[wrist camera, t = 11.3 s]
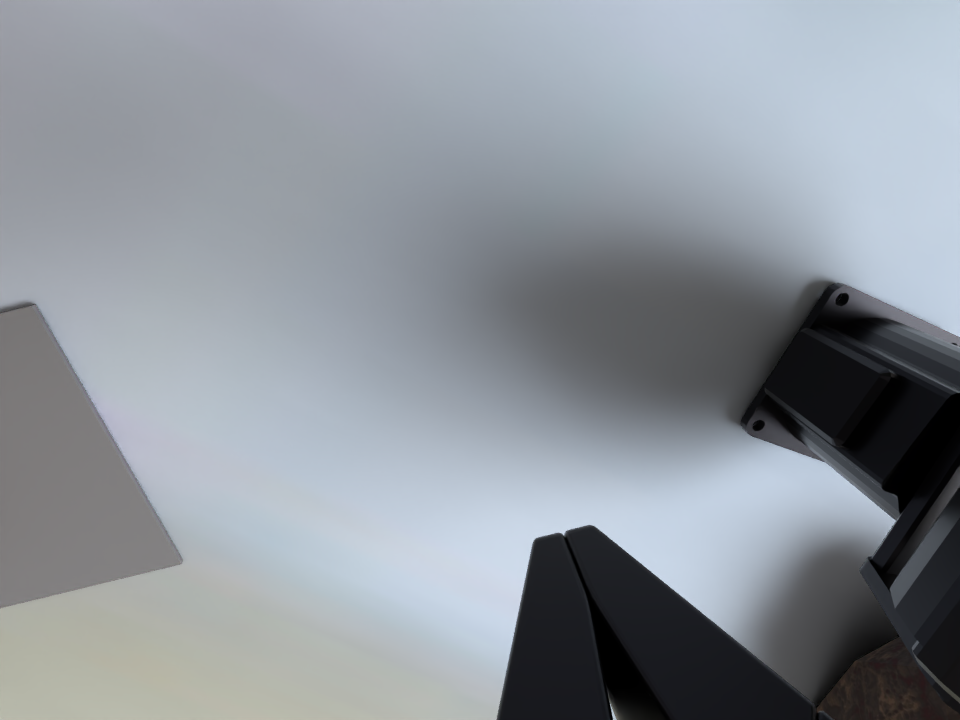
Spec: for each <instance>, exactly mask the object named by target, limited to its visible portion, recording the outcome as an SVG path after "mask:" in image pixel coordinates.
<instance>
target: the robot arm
mask: <svg viewBox="0 0 960 720" xmlns="http://www.w3.org/2000/svg"><path fill="white" fill-rule="evenodd" d="M839 294H841V298H840V299H839V300H838V301H837V302H836V298H837V296H838V295H839ZM757 420H759V421H758V423H757V424H756V425H754V426H753V423H754V422H755V421H757ZM741 426H742V428H743V429H744V430H745V431H746V432H747V433H748V434H749V435H751V436H753V437H756V438H759V439H762V440H764V441H767V442H770V443H773V444H776V445H778V446H781V447H784V448H787V449H790V450H792V451H795V452H798V453H801V454H804V455H806V456H809V457H812V458H815V459H818V460H820V461H823V462H826V463H827V464H828V465H829V466H831V467H832V468H833V469H834V470H835V471H837V472H838V473H839V474H840V475H841V476H843V477H844V478H845V479H846V480H848V481H849V482H850V483H851V484H852V485H854V486H855V487H856V488H857V489H858V490H860V491H861V492H862V493H863V494H864V495H866V496H867V497H868V498H869V499H870V500H872V501H873V502H874V503H875V504H876V505H878V506H879V507H880V508H881V509H882V510H884V511H885V512H886V513H887V514H888V515H890V516H891V517H892V518H893V519H895V520H896V522H895V523H894V525H893V526H892V528H891V529H890V531H889V532H888V534H887V535H886V537H885V538H884V540H883V541H882V543H881V544H880V546H879V547H878V549H877V551H876V552H875V554H874V555H873V557H868V558H867V559H866V561H865V562H864V564H863V565H862V567H861V568H860V573H861V574H862V576H863V578H864V579H865V581H866V582H867V584H868V586H869V587H870V589H871V591H872V592H873V594H874V595H875V597H876V599H877V600H878V602H879V604H880V605H881V607H882V609H883V610H884V612H885V613H886V615H887V617H888V618H889V620H890V622H891V623H892V625H893V626H894V628H895V630H896V631H897V633H898V635H899V636H900V638H901V639H902V641H903V643H904V644H905V646H906V648H907V649H908V651H909V652H910V654H911V656H912V657H913V659H914V661H915V662H916V664H917V665H918V667H919V669H920V670H921V672H922V673H923V675H924V676H925V677H926V679H927V680H928V682H929V683H930V684H931V686H932V687H933V688H934V689H935V691H936V692H937V694H938V695H939V697H940V698H941V699H942V701H943V702H944V703H945V704H947V705H948V706H949V707H950V708H952V709H953V710H955V711H956V712H958V713H959V714H960V337H958V336H956V335H953V334H951V333H949V332H947V331H945V330H943V329H941V328H938V327H936V326H934V325H932V324H930V323H928V322H925V321H923V320H921V319H919V318H917V317H915V316H912V315H910V314H908V313H906V312H904V311H902V310H899V309H897V308H895V307H893V306H891V305H889V304H886V303H884V302H882V301H880V300H878V299H876V298H873V297H871V296H869V295H867V294H865V293H863V292H861V291H858V290H856V289H854V288H852V287H849V286H847V285H844V284H840V283H836V284H833V285H831V286H829V287H828V288H827V289H826V290H825V291H824V293H823V294H822V296H821V297H820V299H819V300H818V302H817V304H816V305H815V307H814V308H813V310H812V311H811V313H810V314H809V316H808V317H807V319H806V320H805V322H804V324H803V325H802V327H801V328H800V330H799V331H798V333H797V334H796V336H795V337H794V339H793V340H792V342H791V344H790V345H789V347H788V348H787V350H786V351H785V353H784V354H783V356H782V357H781V359H780V360H779V362H778V364H777V365H776V367H775V368H774V370H773V371H772V373H771V374H770V376H769V377H768V379H767V380H766V382H765V384H764V385H763V387H762V388H761V390H760V391H759V393H758V394H757V396H756V397H755V399H754V401H753V402H752V404H751V405H750V407H749V408H748V410H747V411H746V413H745V414H744V416H743V418H742V420H741ZM609 701H610V702H609ZM610 704H611V706H612V709H613V711H614V714H615V716H616V719H617V720H834V719H833V718H831V717H830V716H829V715H828V714H827V713H825V712H824V711H819V712H818V713H817V708H816V706H815V704H814V703H812V702H811V701H810V700H809V699H808V698H806V697H805V696H804V695H803V694H801V693H800V692H799V691H798V690H796V689H795V688H794V687H793V686H791V685H790V684H789V683H788V682H787V681H785V680H784V679H783V678H782V677H780V676H779V675H778V674H777V673H775V672H774V671H773V670H772V669H770V668H769V667H768V666H767V665H765V664H764V663H763V662H762V661H761V660H759V659H758V658H757V657H756V656H754V655H753V654H752V653H751V652H749V651H748V650H747V649H746V648H744V647H743V646H742V645H741V644H740V643H738V642H737V641H736V640H735V639H733V638H732V637H731V636H730V635H728V634H727V633H726V632H725V631H723V630H722V629H721V628H720V627H719V626H717V625H716V624H715V623H714V622H712V621H711V620H710V619H709V618H707V617H706V616H705V615H704V614H702V613H701V612H700V611H699V610H697V609H696V608H695V607H694V606H693V605H691V604H690V603H689V602H688V601H686V600H685V599H684V598H683V597H681V596H680V595H679V594H678V593H676V592H675V591H674V590H673V589H672V588H670V587H669V586H668V585H667V584H665V583H664V582H663V581H662V580H660V579H659V578H658V577H657V576H655V575H654V574H653V573H652V572H651V571H649V570H648V569H647V568H646V567H644V566H643V565H642V564H641V563H639V562H638V561H637V560H636V559H634V558H633V557H632V556H631V555H629V554H628V553H627V552H626V551H625V550H623V549H622V548H621V547H620V546H618V545H617V544H616V543H615V542H613V541H612V540H611V539H610V538H608V537H607V536H606V535H605V534H604V533H602V532H601V531H600V530H599V529H597V528H596V527H595V526H592V525H587V526H583V527H579V528H575V529H571V530H568V531H566V532H565V535H564V536H563V534H561V533H555V534H551V535H547V536H543V537H539V538H536V539H535V540H534V542H533V544H532V549H531V554H530V559H529V564H528V569H527V573H526V578H525V583H524V588H523V593H522V598H521V603H520V608H519V613H518V617H517V622H516V627H515V632H514V637H513V642H512V647H511V652H510V657H509V661H508V666H507V671H506V676H505V681H504V686H503V691H502V696H501V701H500V706H499V710H498V715H497V720H613V717H612V712H611V707H610Z"/></svg>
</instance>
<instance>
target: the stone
mask: <svg viewBox="0 0 960 720" xmlns="http://www.w3.org/2000/svg"><path fill="white" fill-rule="evenodd" d="M819 711H824V712H825V713H827V714H828V715H829V716H830V717H831V718H833V719H834V720H960V714H959V713H958V712H956V711H955V710H953V709H952V708H950V707H949V706H948V705H947V704H945V703H944V702H943V701H942V699H941V698H940V697H939V695H938V694H937V692H936V691H935V689H934V688H933V687H932V686H931V684H930V683H929V682H928V680H927V679H926V677H925V676H924V675H923V673H922V672H921V670H920V669H919V667H918V665H917V664H916V662H915V661H914V659H913V657H912V656H911V654H910V652H909V651H908V649H907V648H906V646H905V644H904V643H903V641H902V639H901V638H900V637H898V638H896V639H894V640H892V641H891V642H889V643H887V644H885V645H883V646H881V647H880V648H878V649H876V650H874V651H872V652H870V653H869V654H867V655H865V656H863V657H861V658H859V659H858V660H856V661H854V663H853V664H852V665H851V666H850V668H849V669H848V670H847V671H846V673H845V674H844V675H843V676H842V677H841V679H840V680H839V681H838V682H837V684H836V685H835V686H834V687H833V688H832V690H831V691H830V692H829V693H828V695H827V696H826V697H825V698H824V699H823V701H822V702H821V703H820V704H819V706H818V707H817V713H818V712H819Z"/></svg>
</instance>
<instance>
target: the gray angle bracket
mask: <svg viewBox="0 0 960 720" xmlns="http://www.w3.org/2000/svg"><path fill="white" fill-rule="evenodd" d="M182 562H183V559H182V558H181V556H180V554H179V552H178V551H177V549H176V547H175V545H174V544H173V542H172V540H171V538H170V537H169V535H168V533H167V531H166V530H165V528H164V526H163V525H162V523H161V521H160V519H159V518H158V516H157V514H156V512H155V511H154V509H153V507H152V505H151V504H150V502H149V500H148V498H147V497H146V495H145V493H144V492H143V490H142V488H141V486H140V485H139V483H138V481H137V479H136V478H135V476H134V474H133V472H132V471H131V469H130V467H129V465H128V464H127V462H126V460H125V459H124V457H123V455H122V453H121V452H120V450H119V448H118V446H117V445H116V443H115V441H114V439H113V438H112V436H111V434H110V432H109V431H108V429H107V427H106V426H105V424H104V422H103V420H102V419H101V417H100V415H99V413H98V412H97V410H96V408H95V406H94V405H93V403H92V401H91V399H90V398H89V396H88V394H87V393H86V391H85V389H84V387H83V386H82V384H81V382H80V380H79V379H78V377H77V375H76V373H75V372H74V370H73V368H72V366H71V365H70V363H69V361H68V359H67V358H66V356H65V354H64V353H63V351H62V349H61V347H60V346H59V344H58V342H57V340H56V339H55V337H54V335H53V333H52V332H51V330H50V328H49V326H48V325H47V323H46V321H45V320H44V318H43V316H42V314H41V313H40V311H39V309H38V307H37V306H36V304H35V305H31V306H27V307H22V308H18V309H14V310H10V311H6V312H1V313H0V608H3V607H7V606H11V605H15V604H20V603H24V602H28V601H32V600H36V599H40V598H44V597H48V596H52V595H56V594H61V593H65V592H69V591H73V590H77V589H81V588H85V587H89V586H93V585H97V584H102V583H106V582H110V581H114V580H118V579H122V578H126V577H130V576H134V575H138V574H143V573H147V572H151V571H155V570H159V569H163V568H167V567H171V566H175V565H179V564H181V563H182Z"/></svg>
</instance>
